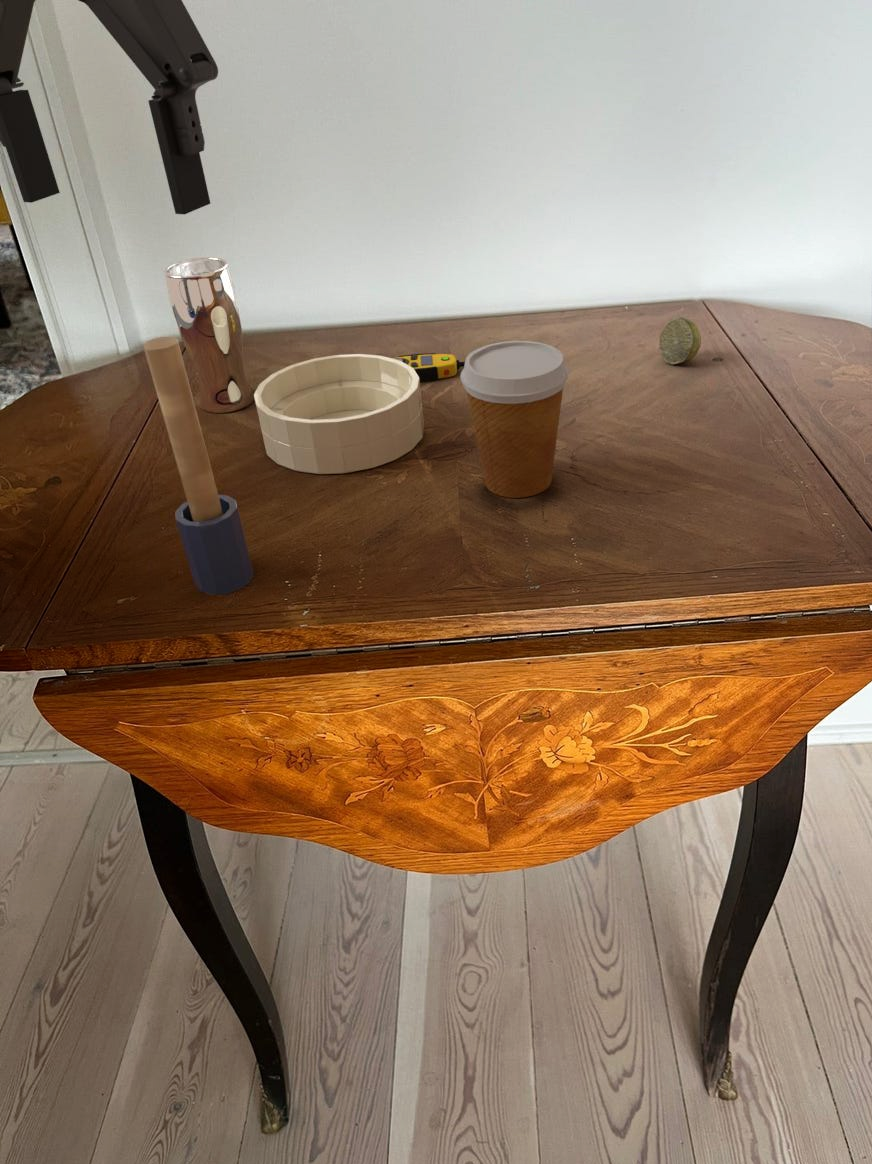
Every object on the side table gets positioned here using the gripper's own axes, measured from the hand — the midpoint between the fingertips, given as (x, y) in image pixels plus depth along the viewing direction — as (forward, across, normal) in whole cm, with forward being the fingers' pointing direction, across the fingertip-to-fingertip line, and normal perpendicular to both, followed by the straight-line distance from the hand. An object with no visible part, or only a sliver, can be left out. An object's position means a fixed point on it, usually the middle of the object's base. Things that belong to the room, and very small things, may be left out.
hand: (114, 203), depth 65 cm
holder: (+29, -4, +3) cm, 29 cm away
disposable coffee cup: (+29, -20, -21) cm, 41 cm away
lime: (+29, -26, -53) cm, 66 cm away
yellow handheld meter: (+29, -2, -42) cm, 51 cm away
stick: (+28, -4, +3) cm, 29 cm away
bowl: (+29, 0, -23) cm, 37 cm away
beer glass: (+29, +18, -27) cm, 43 cm away
